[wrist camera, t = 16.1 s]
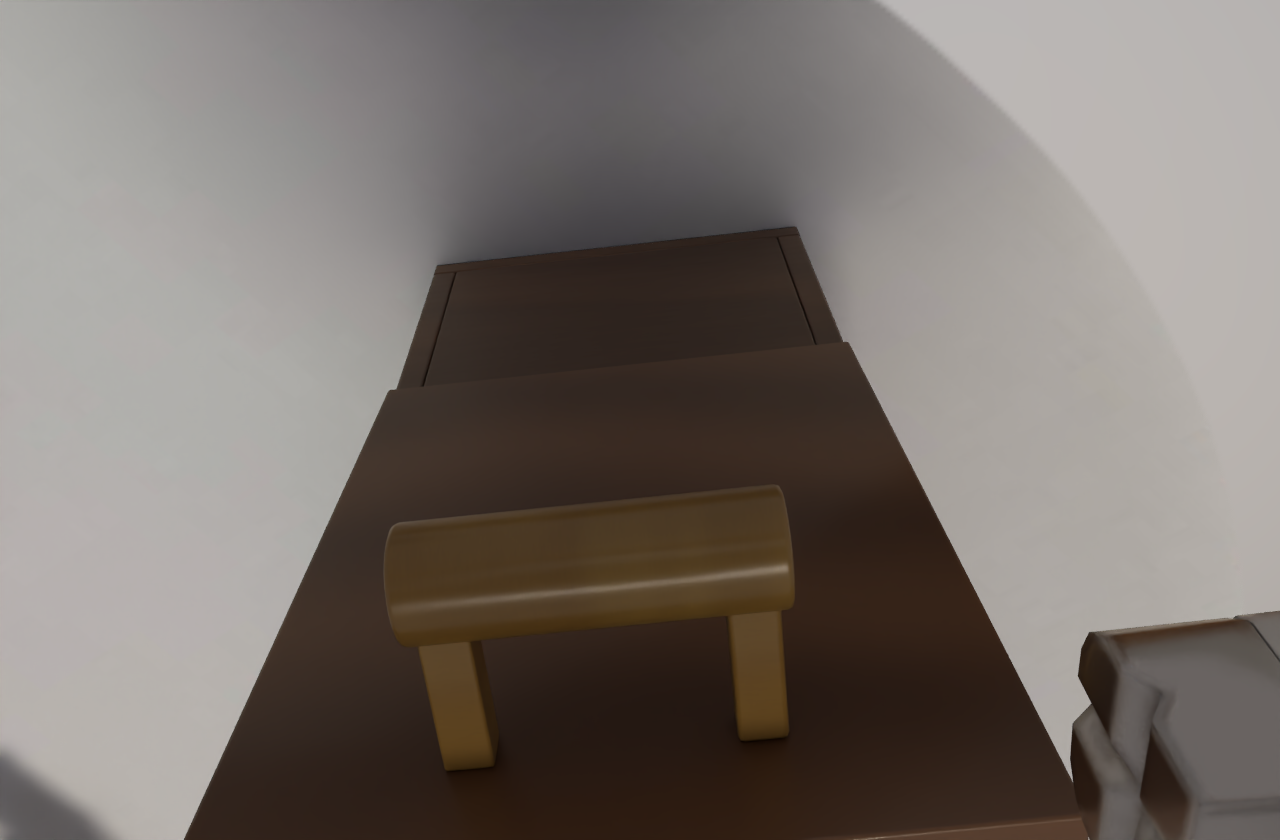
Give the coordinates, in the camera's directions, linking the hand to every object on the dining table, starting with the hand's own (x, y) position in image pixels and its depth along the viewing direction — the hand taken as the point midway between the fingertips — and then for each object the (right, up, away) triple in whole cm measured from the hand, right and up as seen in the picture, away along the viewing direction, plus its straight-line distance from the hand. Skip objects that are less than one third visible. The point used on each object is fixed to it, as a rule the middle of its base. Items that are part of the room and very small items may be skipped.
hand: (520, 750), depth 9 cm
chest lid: (+1, 0, +13) cm, 13 cm away
